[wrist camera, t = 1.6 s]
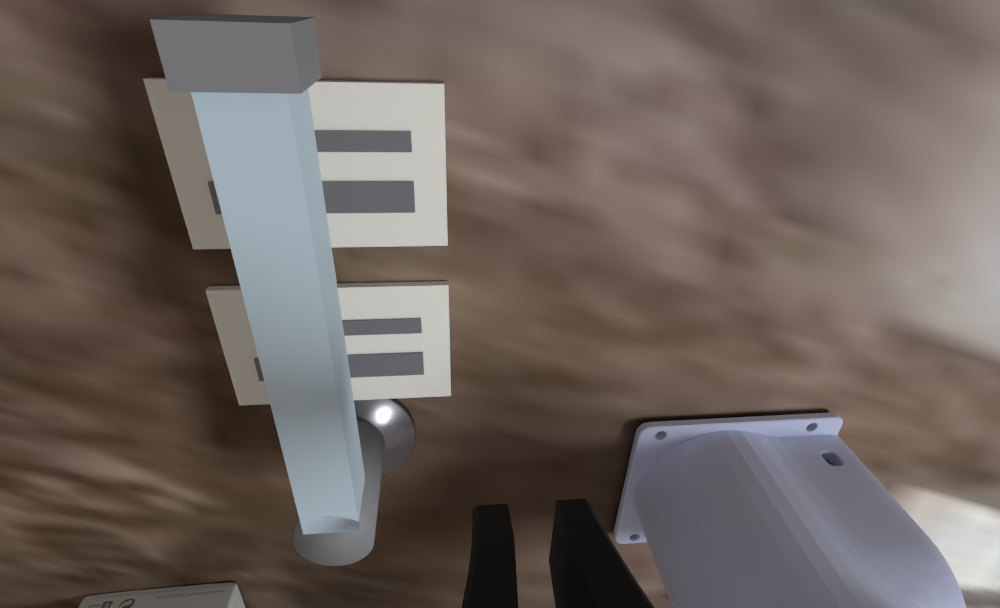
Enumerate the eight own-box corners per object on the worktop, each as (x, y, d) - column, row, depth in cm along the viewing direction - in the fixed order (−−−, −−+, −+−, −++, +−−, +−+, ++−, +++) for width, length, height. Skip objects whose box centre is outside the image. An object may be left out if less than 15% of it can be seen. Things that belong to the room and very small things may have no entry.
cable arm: (387, 464, 22) (376, 568, 18) (323, 468, 22) (298, 574, 18) (336, 12, 13) (296, 22, 10) (230, 9, 13) (144, 19, 9)
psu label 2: (448, 280, 18) (448, 286, 18) (451, 391, 21) (450, 397, 21) (208, 286, 18) (204, 292, 17) (241, 400, 20) (238, 407, 20)
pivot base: (412, 383, 21) (411, 387, 20) (418, 471, 23) (418, 476, 23) (279, 388, 20) (277, 393, 20) (301, 478, 23) (299, 484, 22)
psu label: (444, 82, 15) (444, 84, 15) (447, 241, 18) (447, 246, 17) (148, 77, 14) (141, 79, 14) (196, 245, 17) (192, 250, 17)
